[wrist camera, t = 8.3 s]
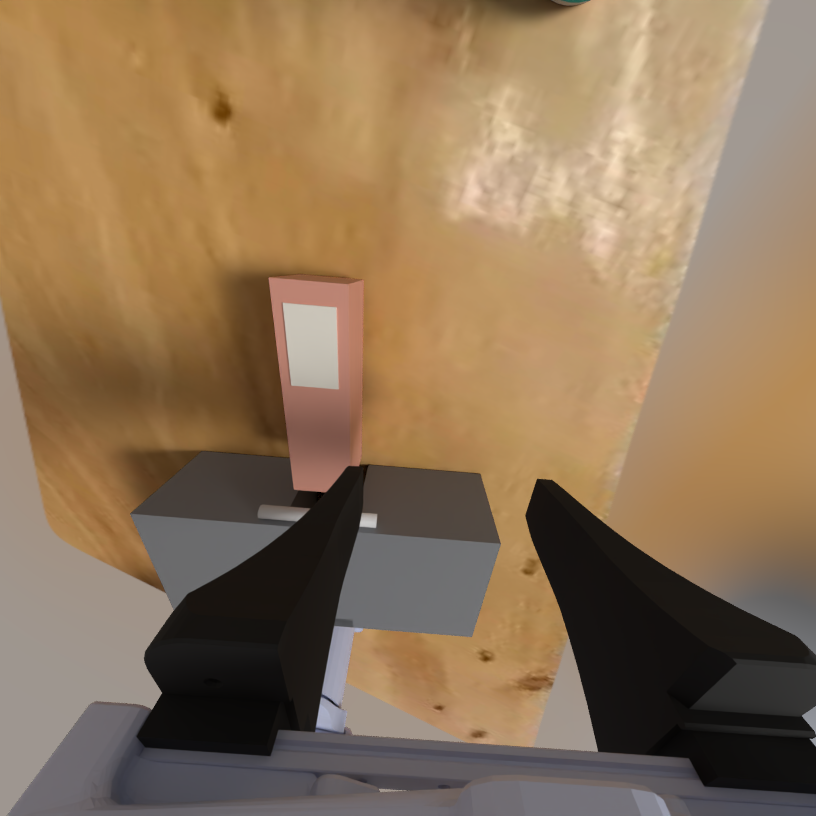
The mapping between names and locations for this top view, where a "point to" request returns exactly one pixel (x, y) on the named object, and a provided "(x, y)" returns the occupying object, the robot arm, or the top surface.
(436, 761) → the robot arm
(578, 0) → the beverage can
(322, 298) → the pink labelled block
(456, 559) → the dispenser
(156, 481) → the top surface
